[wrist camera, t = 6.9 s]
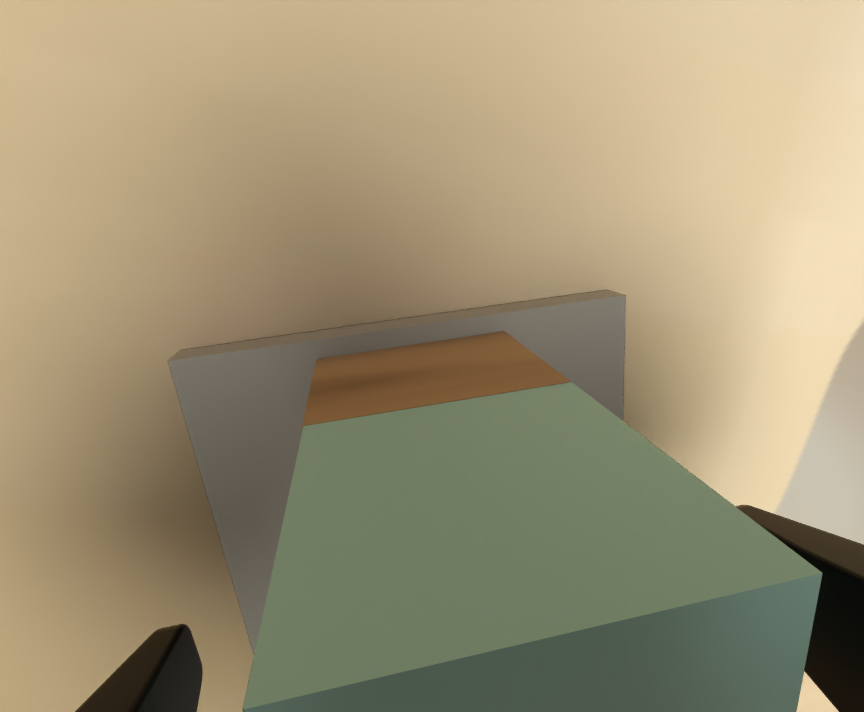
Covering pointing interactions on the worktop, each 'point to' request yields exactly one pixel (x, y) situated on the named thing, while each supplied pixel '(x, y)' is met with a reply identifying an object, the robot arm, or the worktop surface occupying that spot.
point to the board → (289, 389)
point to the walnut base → (423, 376)
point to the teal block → (521, 571)
